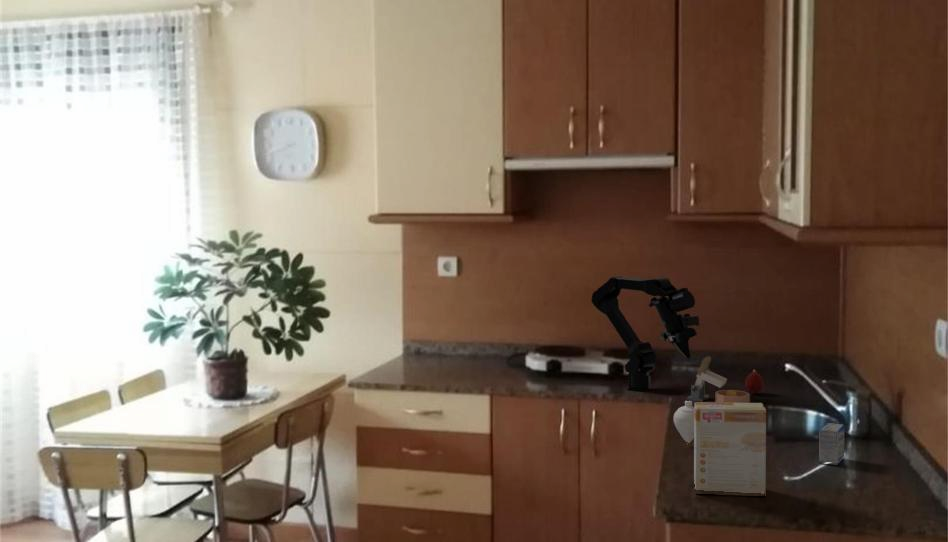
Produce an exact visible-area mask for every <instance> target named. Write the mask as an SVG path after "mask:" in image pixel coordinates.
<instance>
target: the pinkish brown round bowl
mask: <svg viewBox="0 0 948 542" xmlns="http://www.w3.org/2000/svg"><path fill="white" fill-rule="evenodd" d="M729 390H730V389H722V390H716V391H715V392H714V402H726V403H751V394H750V392H747V391H743V390H737V389H732V390H733V391H735V392H736V394H737V396H725V395H726V392H727V391H729Z"/></svg>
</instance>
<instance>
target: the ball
mask: <svg viewBox="0 0 948 542" xmlns="http://www.w3.org/2000/svg"><path fill="white" fill-rule="evenodd" d="M728 390H729V391H727V392H726V395H725V396H737V394H736V392H735V391H733V390H734V389H728Z"/></svg>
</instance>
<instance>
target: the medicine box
mask: <svg viewBox="0 0 948 542" xmlns="http://www.w3.org/2000/svg"><path fill="white" fill-rule="evenodd" d="M818 438H819V440H818V442H819V444H818V445H819V447H818V450H819V451H818V453H819V454H818V455H819V456H818V461H823V462H833V463H838V462H839V461H840V460H841V458H842V457H843V456H844V457H845V425H844V424H841V423H833V422H831V423H828V422H827V423H826V424H824V426H823V427H822V428H821V429H819V437H818Z"/></svg>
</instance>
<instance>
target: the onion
mask: <svg viewBox="0 0 948 542" xmlns="http://www.w3.org/2000/svg"><path fill="white" fill-rule="evenodd" d="M744 385H745V388H746V390H748V391H749V393H751V394H752V395H756V394H757V393H758V392H760V391H761V390H762V389H763V387H764V379H763V377H762V375H760V374H759V373H758V372H757V370H756V369H753V370H752V372H751V373H748V375H747V376H746V378H745V380H744Z"/></svg>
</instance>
